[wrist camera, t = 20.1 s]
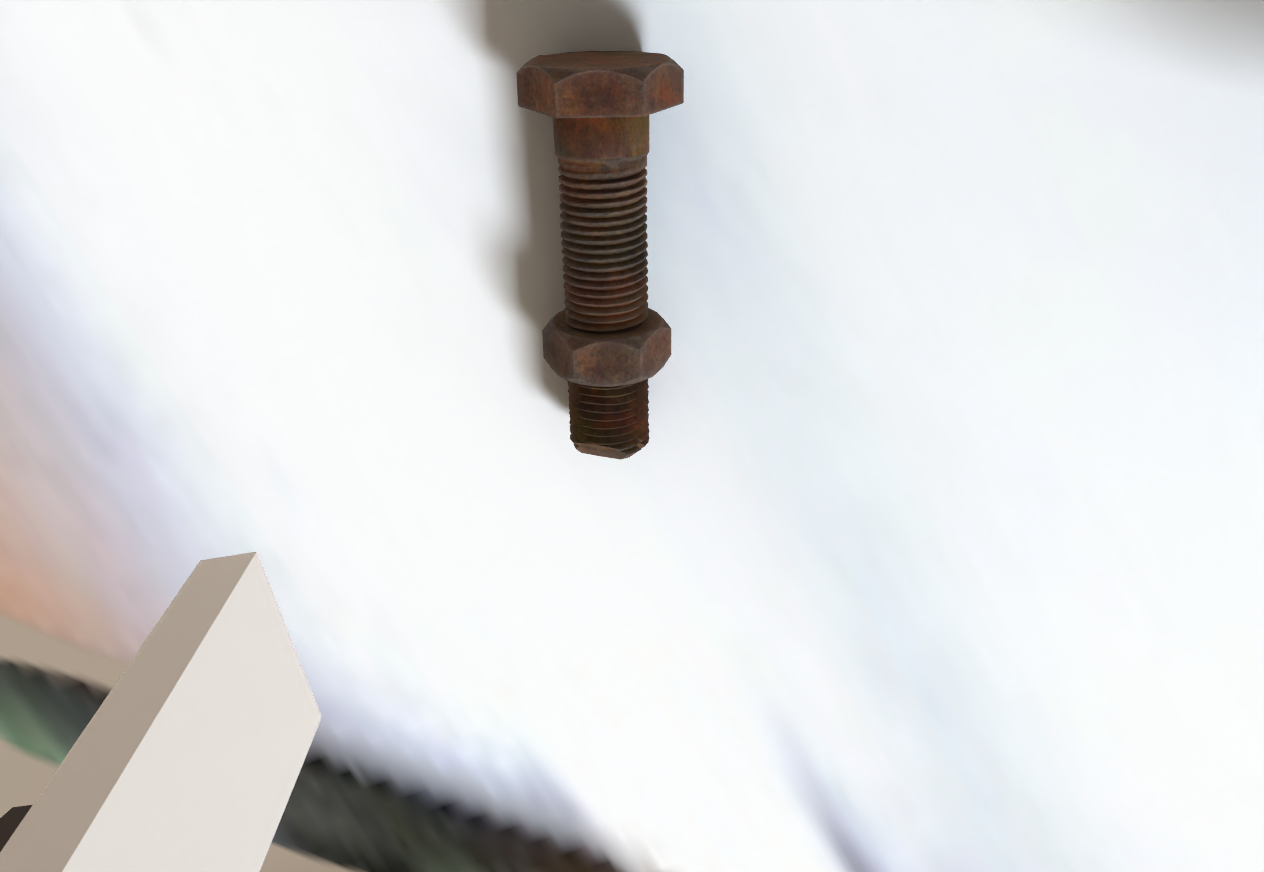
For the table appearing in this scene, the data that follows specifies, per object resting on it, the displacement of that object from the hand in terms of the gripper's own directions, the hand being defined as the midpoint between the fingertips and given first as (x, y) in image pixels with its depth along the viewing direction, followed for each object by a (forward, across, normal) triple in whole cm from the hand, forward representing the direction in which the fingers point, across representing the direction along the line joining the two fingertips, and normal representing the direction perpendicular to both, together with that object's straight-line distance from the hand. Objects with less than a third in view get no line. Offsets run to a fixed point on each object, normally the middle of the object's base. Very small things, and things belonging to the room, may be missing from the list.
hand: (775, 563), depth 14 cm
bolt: (+30, -4, -4) cm, 31 cm away
